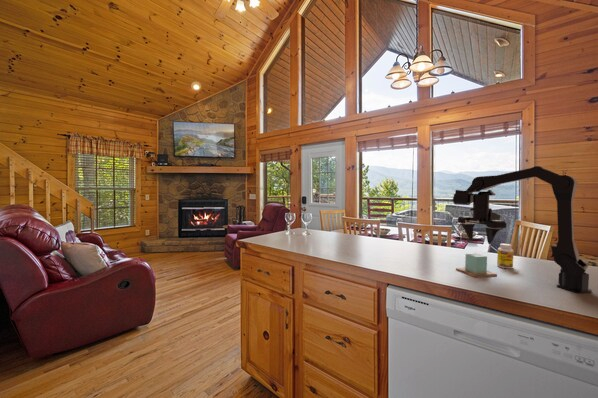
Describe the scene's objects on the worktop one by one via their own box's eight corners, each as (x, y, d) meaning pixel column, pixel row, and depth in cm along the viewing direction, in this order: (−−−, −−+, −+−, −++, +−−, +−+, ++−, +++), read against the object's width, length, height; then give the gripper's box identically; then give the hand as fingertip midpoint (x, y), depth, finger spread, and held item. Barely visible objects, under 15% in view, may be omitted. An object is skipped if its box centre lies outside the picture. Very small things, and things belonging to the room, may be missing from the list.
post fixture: (496, 275, 105) (497, 261, 105) (476, 277, 103) (476, 263, 103) (475, 268, 115) (475, 255, 115) (455, 269, 113) (456, 256, 113)
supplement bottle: (498, 267, 116) (499, 244, 116) (496, 264, 121) (496, 242, 121) (514, 269, 113) (515, 246, 113) (511, 266, 118) (512, 243, 118)
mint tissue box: (486, 272, 107) (487, 256, 107) (475, 273, 106) (476, 257, 106) (475, 268, 112) (475, 253, 112) (465, 269, 111) (465, 254, 111)
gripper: (518, 207, 106) (516, 245, 106) (477, 204, 124) (476, 237, 125) (495, 207, 103) (494, 246, 104) (457, 204, 122) (456, 237, 122)
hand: (479, 241), depth 114 cm, fingers open, 9 cm apart
